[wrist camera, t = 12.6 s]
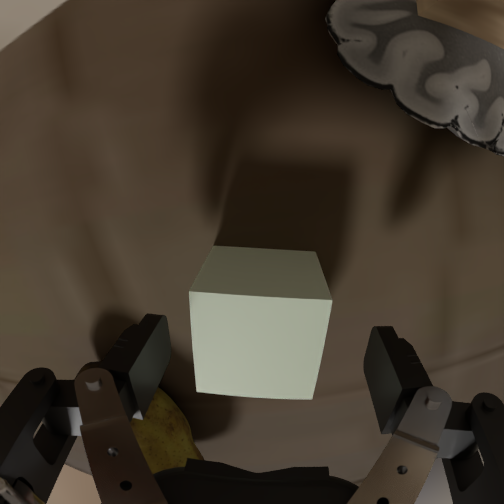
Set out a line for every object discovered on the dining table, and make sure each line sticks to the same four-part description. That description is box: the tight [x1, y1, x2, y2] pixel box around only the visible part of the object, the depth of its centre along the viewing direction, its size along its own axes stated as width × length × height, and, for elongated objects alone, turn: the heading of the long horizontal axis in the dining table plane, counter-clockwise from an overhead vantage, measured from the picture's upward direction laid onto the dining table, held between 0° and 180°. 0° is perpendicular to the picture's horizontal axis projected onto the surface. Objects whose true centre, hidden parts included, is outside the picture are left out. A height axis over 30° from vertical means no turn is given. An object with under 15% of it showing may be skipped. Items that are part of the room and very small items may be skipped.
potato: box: [75, 362, 204, 474], centre depth 17 cm, size 8×13×8 cm, turn 4°
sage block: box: [189, 246, 332, 399], centre depth 14 cm, size 5×5×5 cm
